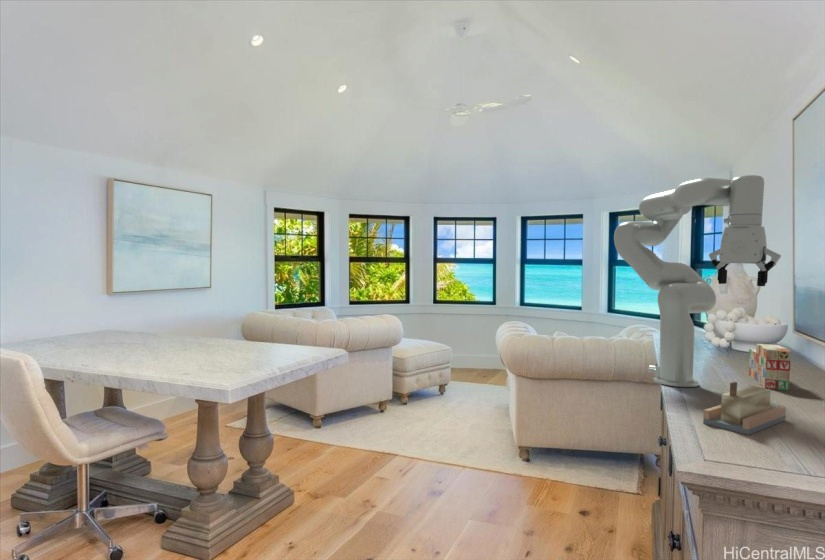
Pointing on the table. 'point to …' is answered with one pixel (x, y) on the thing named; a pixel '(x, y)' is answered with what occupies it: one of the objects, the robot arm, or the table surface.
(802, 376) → the table surface
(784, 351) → the stack of blocks
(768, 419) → the jig cradle
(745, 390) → the tapered cream block
